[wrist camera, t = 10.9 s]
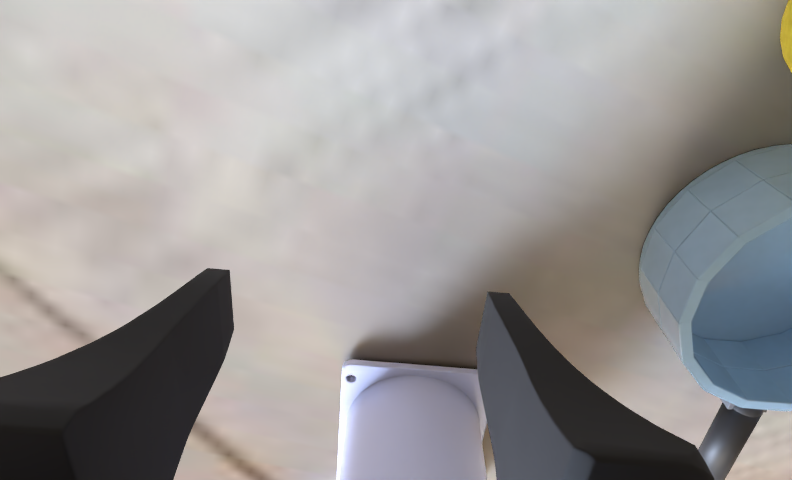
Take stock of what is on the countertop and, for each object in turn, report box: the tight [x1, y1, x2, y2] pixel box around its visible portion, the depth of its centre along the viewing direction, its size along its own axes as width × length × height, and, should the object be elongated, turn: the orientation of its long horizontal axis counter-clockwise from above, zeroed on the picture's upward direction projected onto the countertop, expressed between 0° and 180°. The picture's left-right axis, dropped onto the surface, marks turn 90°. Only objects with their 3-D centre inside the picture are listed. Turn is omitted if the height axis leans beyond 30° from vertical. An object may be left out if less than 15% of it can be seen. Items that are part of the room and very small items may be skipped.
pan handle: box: [698, 398, 767, 480], centre depth 26 cm, size 7×2×2 cm, turn 175°
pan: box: [639, 144, 792, 411], centre depth 23 cm, size 10×10×4 cm
